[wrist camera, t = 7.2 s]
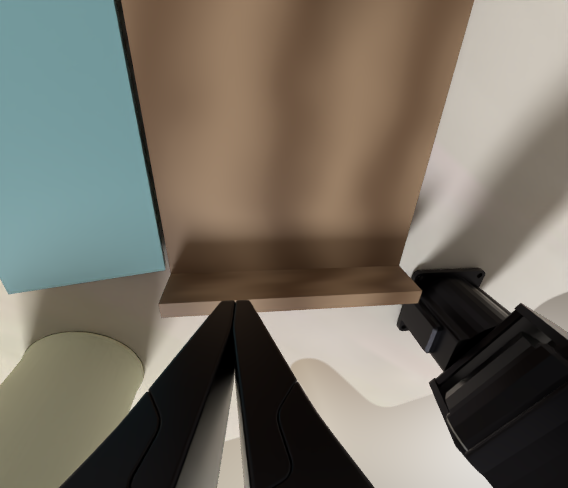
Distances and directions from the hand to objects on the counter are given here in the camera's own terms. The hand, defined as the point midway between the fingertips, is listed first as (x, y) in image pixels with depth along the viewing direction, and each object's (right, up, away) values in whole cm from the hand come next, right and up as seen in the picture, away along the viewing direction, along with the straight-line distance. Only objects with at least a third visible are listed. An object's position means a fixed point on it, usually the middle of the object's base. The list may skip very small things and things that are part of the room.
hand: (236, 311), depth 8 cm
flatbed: (+2, +9, +8) cm, 12 cm away
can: (-16, -9, +15) cm, 24 cm away
